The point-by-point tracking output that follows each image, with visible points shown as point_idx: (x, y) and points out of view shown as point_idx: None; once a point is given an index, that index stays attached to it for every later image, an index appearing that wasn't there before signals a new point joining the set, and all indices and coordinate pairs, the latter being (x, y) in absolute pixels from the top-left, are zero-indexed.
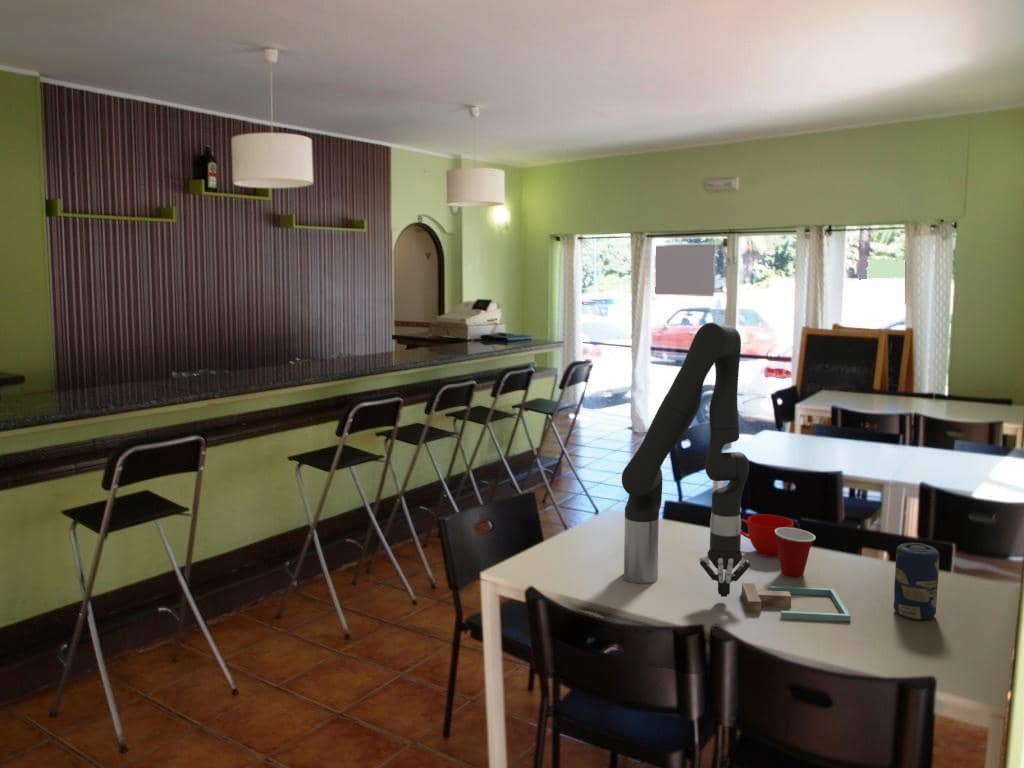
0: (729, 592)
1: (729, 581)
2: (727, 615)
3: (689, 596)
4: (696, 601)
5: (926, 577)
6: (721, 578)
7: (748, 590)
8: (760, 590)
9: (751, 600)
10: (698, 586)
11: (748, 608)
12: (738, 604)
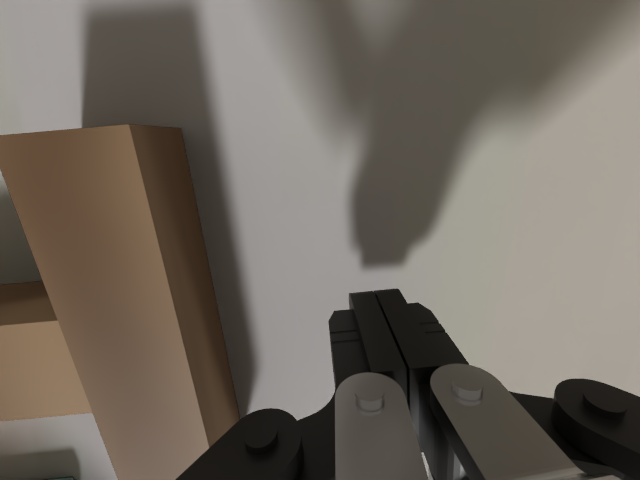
0: (330, 323)
1: (349, 395)
2: (349, 23)
3: (581, 329)
4: (553, 259)
5: None
6: (483, 419)
7: (161, 390)
8: (56, 410)
9: (99, 151)
10: None
11: (164, 128)
12: (260, 269)
